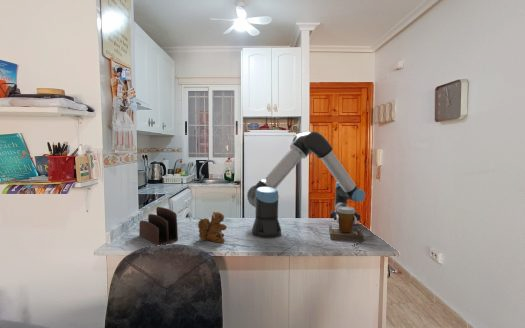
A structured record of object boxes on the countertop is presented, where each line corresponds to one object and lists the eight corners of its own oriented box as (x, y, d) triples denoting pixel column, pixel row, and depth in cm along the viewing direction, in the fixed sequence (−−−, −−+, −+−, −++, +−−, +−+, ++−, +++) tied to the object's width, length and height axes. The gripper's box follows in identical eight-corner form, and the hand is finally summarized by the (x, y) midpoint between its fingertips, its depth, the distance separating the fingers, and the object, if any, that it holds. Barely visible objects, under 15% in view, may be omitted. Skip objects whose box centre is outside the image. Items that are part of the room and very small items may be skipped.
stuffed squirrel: (225, 242, 124) (225, 215, 123) (195, 243, 124) (195, 215, 123) (227, 235, 134) (227, 209, 133) (199, 235, 134) (198, 210, 133)
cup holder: (329, 229, 146) (329, 224, 146) (358, 231, 143) (358, 226, 143) (330, 239, 131) (330, 233, 131) (363, 241, 128) (363, 236, 128)
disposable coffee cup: (352, 228, 145) (353, 206, 144) (356, 233, 136) (357, 210, 135) (334, 227, 146) (335, 205, 145) (337, 233, 136) (338, 209, 136)
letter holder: (158, 231, 140) (157, 204, 139) (178, 240, 127) (177, 211, 126) (139, 235, 133) (138, 208, 132) (158, 246, 119) (157, 215, 118)
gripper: (360, 217, 156) (368, 229, 134) (324, 215, 160) (325, 226, 138) (361, 204, 155) (368, 214, 133) (324, 202, 160) (325, 212, 137)
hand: (346, 220), depth 136 cm, fingers closed on disposable coffee cup, 8 cm apart
